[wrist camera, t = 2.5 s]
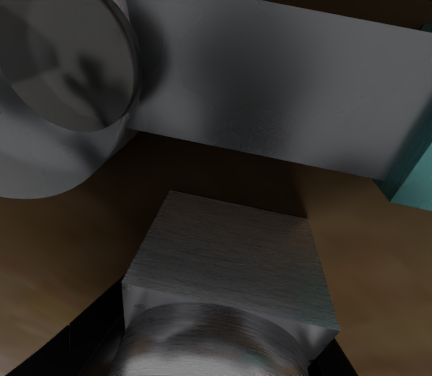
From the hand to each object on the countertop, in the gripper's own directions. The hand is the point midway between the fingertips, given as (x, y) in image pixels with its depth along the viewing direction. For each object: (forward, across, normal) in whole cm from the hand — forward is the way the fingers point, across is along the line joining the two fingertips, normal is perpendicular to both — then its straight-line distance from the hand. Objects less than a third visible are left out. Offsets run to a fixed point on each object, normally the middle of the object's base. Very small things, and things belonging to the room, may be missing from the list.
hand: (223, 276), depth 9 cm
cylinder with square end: (+1, 0, 0) cm, 1 cm away
